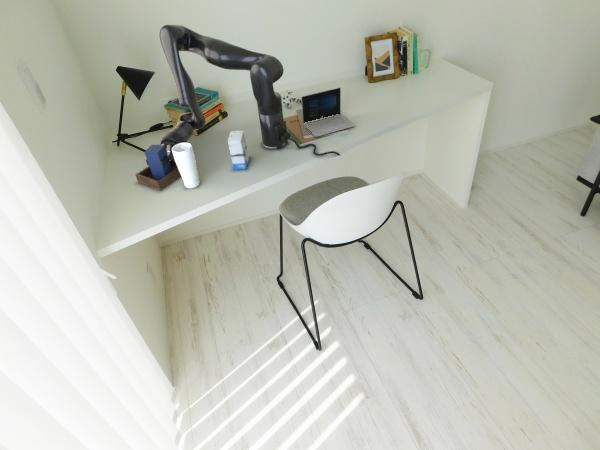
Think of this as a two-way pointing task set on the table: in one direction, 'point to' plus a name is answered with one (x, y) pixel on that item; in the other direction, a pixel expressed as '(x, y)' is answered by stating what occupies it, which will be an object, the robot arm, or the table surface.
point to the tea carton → (157, 161)
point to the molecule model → (290, 99)
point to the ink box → (238, 149)
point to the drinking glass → (186, 164)
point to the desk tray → (159, 184)
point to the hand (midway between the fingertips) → (155, 163)
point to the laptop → (323, 112)
